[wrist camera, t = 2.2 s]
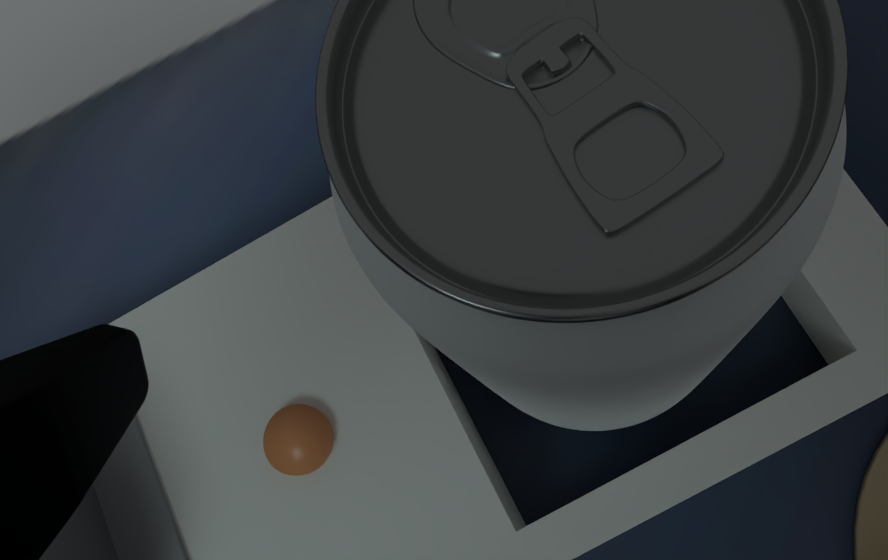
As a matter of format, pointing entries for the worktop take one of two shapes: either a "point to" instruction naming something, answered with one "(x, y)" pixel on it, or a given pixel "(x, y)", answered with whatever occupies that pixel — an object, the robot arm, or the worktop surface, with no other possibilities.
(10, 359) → the robot arm
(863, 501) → the cork coaster
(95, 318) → the worktop surface
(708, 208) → the can
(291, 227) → the strip dock
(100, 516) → the block
